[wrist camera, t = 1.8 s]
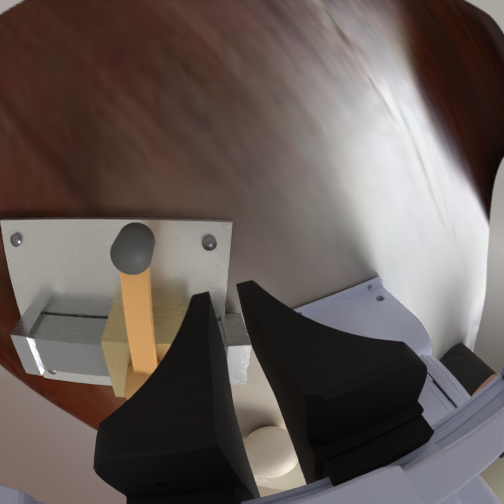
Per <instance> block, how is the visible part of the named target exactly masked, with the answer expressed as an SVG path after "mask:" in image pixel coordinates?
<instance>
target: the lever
mask: <svg viewBox="0 0 504 504" xmlns="http://www.w3.org/2000/svg"><path fill="white" fill-rule="evenodd" d="M154 247H155V237H154V234H153V232H152V230H151V229H150V228H149V227H148V226H146V225H144V224H142V223H138V222H133V223H129V224H127V225H125V226H124V227H123V228H122V229H121V230H120V232H119V234H118V235H117V237H116V239H115V240H114V242H113V244H112V246H111V249H110V257H111V261H112V263H113V265H114V266H115V267H116V268H117V269H118V270H119V271H120V279H121V289H122V298H123V306H124V314H125V322H126V328H127V335H128V341H129V347H130V353H131V359H132V364H131V365H130V366H129V367H128V369H127V373H126V381H125V389H124V395H125V397H126V399H127V400H128V399H129V398H130V397H131V396H132V395H133V394H134V393H135V392H136V391H137V390H138V389H139V388H140V387H141V386H142V385H143V384H144V383H145V381H146V380H147V379H148V378H149V377H150V375H151V374H152V373H153V372H154V370H155V369H156V368H157V366H158V365H159V364H160V363H158V362H157V356H156V347H155V337H154V326H153V314H152V299H151V281H150V263H151V260H152V256H153V251H154Z"/></svg>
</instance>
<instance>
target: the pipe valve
mask: <svg viewBox="0 0 504 504" xmlns="http://www.w3.org/2000/svg"><path fill="white" fill-rule="evenodd" d="M187 309H188V307H175V306H152V314H153V326H154V337H155V347H156V356H157V362H158V363H160V362H161V361H162V359H163V358H164V356H165V354H166V353H167V351H168V349H169V348H170V346H171V344H172V342H173V340H174V338H175V336H176V334H177V332H178V330H179V328H180V326H181V323H182V321H183V319H184V317H185V314H186V311H187ZM218 324H219V328H220V331H221V335H222V339H223V343H224V347H225V351H226V356H227V363H228V371H229V378H230V384H245V383H246V378H247V371H248V364H249V358H250V351H251V343H250V340H249V337H248V334H247V331H246V328H245V325H244V322H243V319H242V316H241V313H225V315H221V321H218ZM10 335H11V338H12V340H13V343H14V345H15V348H16V350H17V353H18V355H19V357H20V360H21V362H22V364H23V366H24V369H25V371H26V373H29V374H35V375H40V376H42V374H43V372H44V369H45V370H52V371H59V372H67V373H75V374H85V375H95V376H107V377H110V379H111V382H112V386H113V389H114V393H115V396H116V397H125V395H124V389H125V381H126V373H127V369H128V367H129V366H130V365H131V364H132V359H131V353H130V347H129V341H128V335H127V328H126V322H125V314H124V306H123V305H112V307H111V310H110V313H109V316H108V319H99V318H83V317H69V316H56V315H45V314H44V312H43V309H38V308H27V310H26V311H25V312H24V314H23V315H22V317H21V319H20V320H19V322H18V323H17V325H16V326H15V328H14V329H13V331H12V333H11V334H10Z"/></svg>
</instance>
